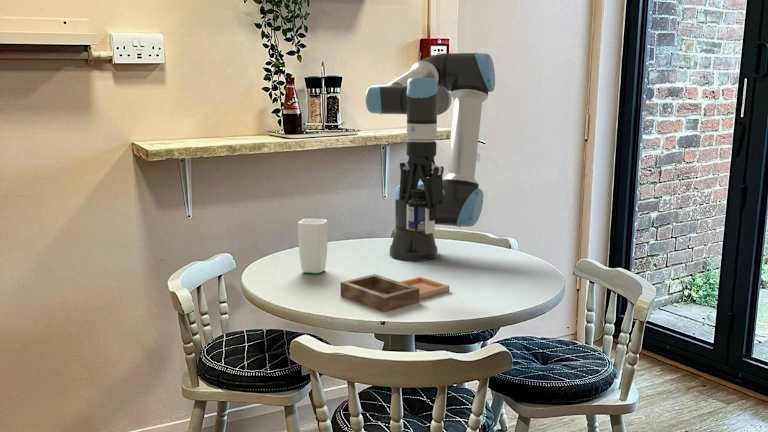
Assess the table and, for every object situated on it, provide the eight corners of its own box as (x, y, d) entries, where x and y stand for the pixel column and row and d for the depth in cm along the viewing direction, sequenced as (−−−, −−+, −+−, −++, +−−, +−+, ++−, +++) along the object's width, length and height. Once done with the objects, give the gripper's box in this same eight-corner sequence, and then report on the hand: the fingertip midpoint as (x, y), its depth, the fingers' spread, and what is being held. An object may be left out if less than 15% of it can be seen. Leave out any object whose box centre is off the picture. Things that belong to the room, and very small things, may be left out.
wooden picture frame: (340, 295, 173) (340, 282, 172) (374, 286, 180) (374, 274, 180) (384, 312, 160) (384, 297, 160) (419, 302, 168) (419, 288, 167)
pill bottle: (434, 230, 176) (435, 188, 173) (428, 235, 170) (429, 192, 168) (411, 228, 178) (412, 187, 175) (404, 233, 172) (405, 190, 170)
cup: (297, 274, 192) (296, 223, 189) (306, 267, 199) (305, 218, 196) (321, 276, 190) (320, 224, 187) (329, 269, 197) (329, 219, 194)
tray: (389, 290, 177) (389, 284, 177) (419, 282, 185) (419, 276, 184) (419, 300, 169) (419, 294, 169) (449, 291, 176) (449, 285, 176)
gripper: (385, 138, 174) (384, 226, 178) (438, 143, 160) (436, 239, 164) (406, 137, 179) (405, 223, 183) (460, 142, 165) (457, 234, 169)
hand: (420, 230), depth 174 cm, fingers closed on pill bottle, 6 cm apart
